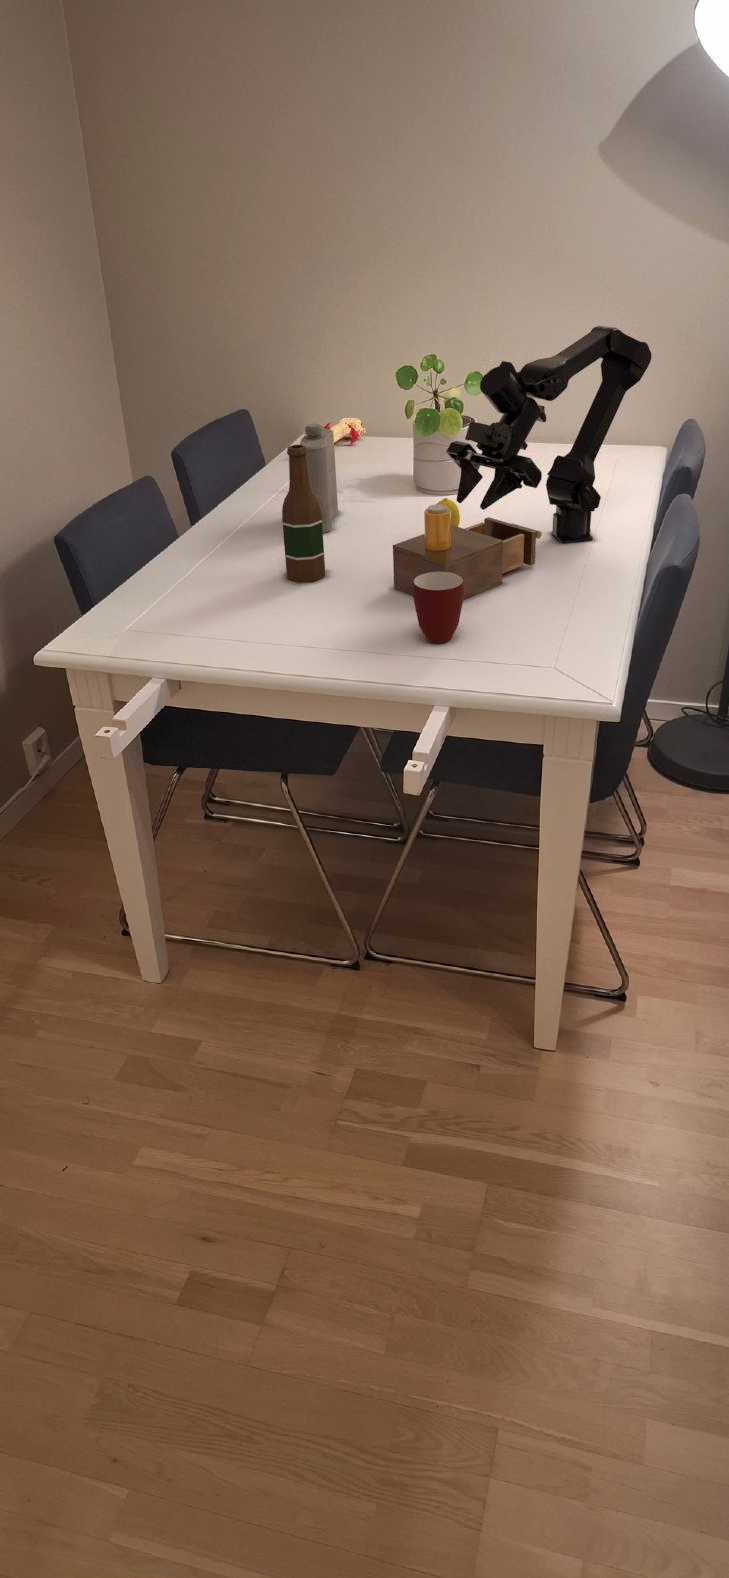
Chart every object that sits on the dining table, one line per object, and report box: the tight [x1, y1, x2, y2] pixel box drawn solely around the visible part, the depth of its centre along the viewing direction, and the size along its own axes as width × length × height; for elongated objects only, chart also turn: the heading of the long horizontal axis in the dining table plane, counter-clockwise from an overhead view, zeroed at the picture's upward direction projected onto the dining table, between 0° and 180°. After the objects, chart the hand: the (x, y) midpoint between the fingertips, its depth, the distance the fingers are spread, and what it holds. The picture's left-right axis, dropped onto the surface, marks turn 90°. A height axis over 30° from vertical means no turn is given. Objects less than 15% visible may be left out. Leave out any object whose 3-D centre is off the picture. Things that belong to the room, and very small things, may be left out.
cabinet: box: [392, 525, 503, 601], centre depth 196 cm, size 15×13×8 cm
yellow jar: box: [423, 503, 451, 551], centre depth 190 cm, size 5×5×7 cm
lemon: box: [436, 497, 461, 527], centre depth 218 cm, size 6×6×8 cm
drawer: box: [464, 516, 542, 575], centre depth 203 cm, size 18×12×6 cm, turn 132°
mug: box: [412, 572, 464, 644], centre depth 177 cm, size 10×8×10 cm
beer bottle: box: [281, 444, 326, 583], centre depth 199 cm, size 8×8×24 cm
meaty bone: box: [323, 417, 367, 446], centre depth 279 cm, size 10×9×25 cm
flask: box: [299, 423, 339, 534], centre depth 226 cm, size 15×6×20 cm, turn 173°
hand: (469, 505), depth 194 cm, fingers open, 5 cm apart
